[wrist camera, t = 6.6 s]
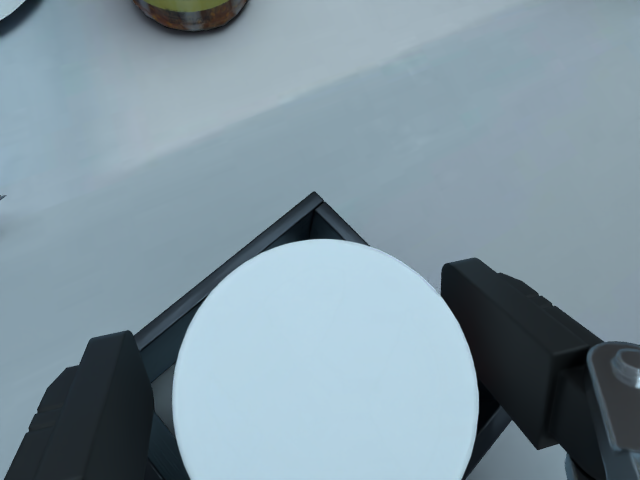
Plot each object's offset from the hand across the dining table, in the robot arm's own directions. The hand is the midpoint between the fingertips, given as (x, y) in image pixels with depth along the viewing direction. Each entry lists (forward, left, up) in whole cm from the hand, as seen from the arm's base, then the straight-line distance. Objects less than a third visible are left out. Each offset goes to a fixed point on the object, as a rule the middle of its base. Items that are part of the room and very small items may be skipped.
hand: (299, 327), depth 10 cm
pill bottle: (-1, +1, -7) cm, 7 cm away
